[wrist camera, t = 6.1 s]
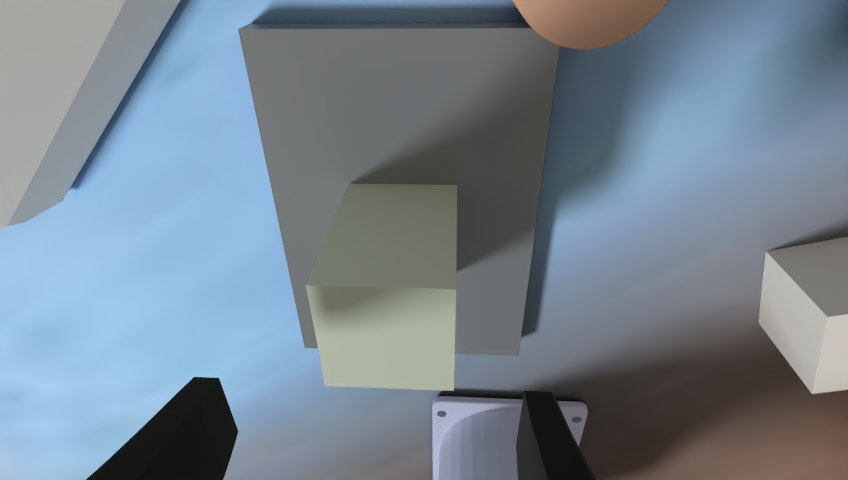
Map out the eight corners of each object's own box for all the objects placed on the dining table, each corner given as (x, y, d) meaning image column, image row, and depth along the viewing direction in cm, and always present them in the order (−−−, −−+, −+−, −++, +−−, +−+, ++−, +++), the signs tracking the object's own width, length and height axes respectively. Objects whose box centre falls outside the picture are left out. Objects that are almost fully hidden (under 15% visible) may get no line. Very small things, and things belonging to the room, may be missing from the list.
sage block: (455, 272, 20) (453, 390, 15) (358, 270, 20) (325, 385, 15) (457, 184, 18) (456, 288, 13) (348, 183, 18) (305, 285, 13)
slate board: (516, 339, 23) (518, 355, 22) (310, 332, 24) (304, 347, 23) (556, 22, 15) (562, 28, 14) (249, 23, 16) (238, 29, 15)
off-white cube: (859, 305, 21) (935, 378, 18) (757, 321, 22) (811, 393, 18) (877, 230, 19) (967, 295, 15) (765, 250, 20) (827, 317, 16)
